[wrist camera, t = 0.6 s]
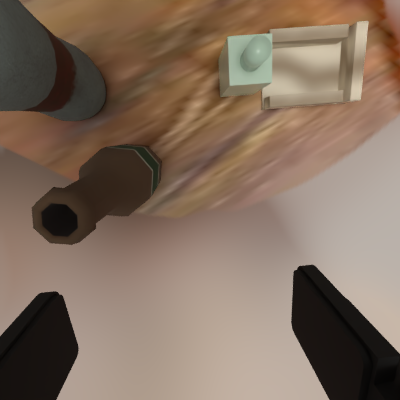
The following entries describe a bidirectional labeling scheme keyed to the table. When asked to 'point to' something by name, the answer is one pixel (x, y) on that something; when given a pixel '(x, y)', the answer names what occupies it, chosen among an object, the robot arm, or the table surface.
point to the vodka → (44, 69)
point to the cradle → (316, 65)
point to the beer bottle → (98, 193)
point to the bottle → (245, 64)
